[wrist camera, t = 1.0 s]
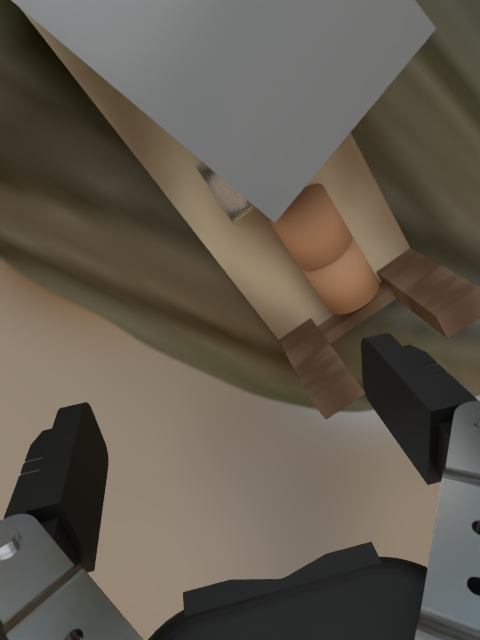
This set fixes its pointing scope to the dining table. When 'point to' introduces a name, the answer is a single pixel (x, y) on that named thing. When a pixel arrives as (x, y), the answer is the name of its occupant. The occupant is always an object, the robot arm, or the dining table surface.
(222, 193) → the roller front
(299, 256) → the roller
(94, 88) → the deck
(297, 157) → the slab
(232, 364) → the dining table surface
